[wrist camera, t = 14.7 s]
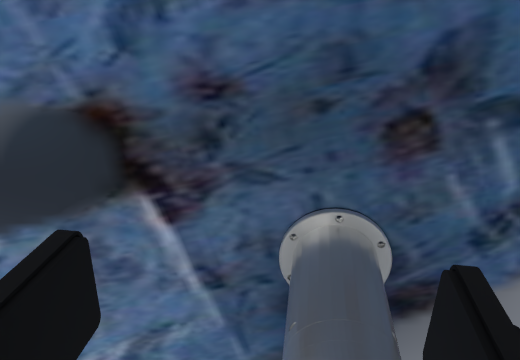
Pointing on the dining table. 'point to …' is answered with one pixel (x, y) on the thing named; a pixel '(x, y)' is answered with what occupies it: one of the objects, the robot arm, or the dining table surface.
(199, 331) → the dining table surface
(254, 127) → the dining table surface
